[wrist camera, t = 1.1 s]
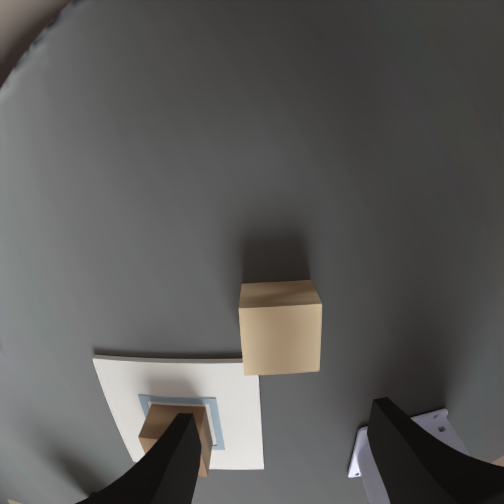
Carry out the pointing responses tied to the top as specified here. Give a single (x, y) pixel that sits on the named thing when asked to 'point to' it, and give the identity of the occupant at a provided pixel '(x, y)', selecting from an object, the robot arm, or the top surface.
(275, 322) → the maple block
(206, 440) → the walnut block
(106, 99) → the top surface
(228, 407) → the board
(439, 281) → the top surface
